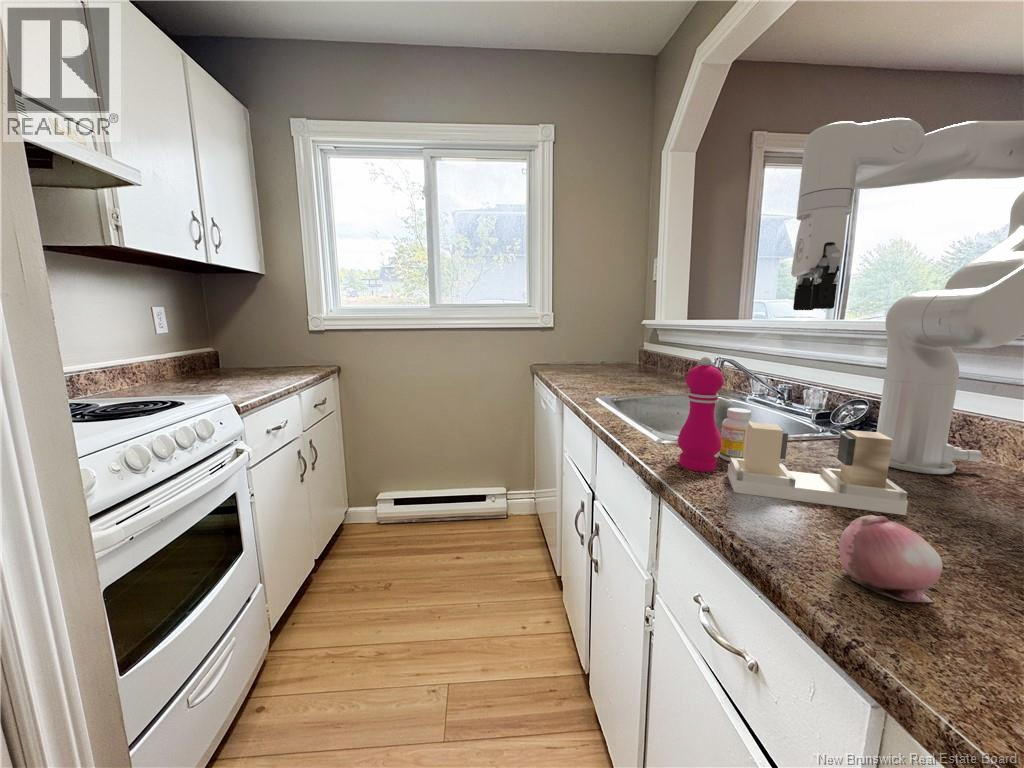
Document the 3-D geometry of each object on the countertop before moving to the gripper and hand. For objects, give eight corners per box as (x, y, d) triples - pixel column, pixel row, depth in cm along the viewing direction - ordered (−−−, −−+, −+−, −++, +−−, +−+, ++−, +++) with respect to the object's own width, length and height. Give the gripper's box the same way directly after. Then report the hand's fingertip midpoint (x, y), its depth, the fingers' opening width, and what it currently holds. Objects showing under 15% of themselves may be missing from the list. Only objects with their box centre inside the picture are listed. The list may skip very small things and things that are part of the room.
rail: (879, 493, 64) (888, 430, 62) (905, 515, 56) (917, 445, 55) (727, 475, 71) (732, 418, 69) (734, 492, 64) (740, 429, 62)
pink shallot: (830, 566, 46) (846, 504, 46) (925, 602, 41) (942, 533, 42) (833, 579, 40) (851, 507, 40) (945, 623, 35) (965, 541, 35)
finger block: (871, 483, 62) (879, 432, 61) (884, 494, 59) (892, 439, 57) (833, 479, 64) (840, 429, 63) (843, 488, 60) (850, 436, 59)
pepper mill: (724, 474, 71) (735, 359, 68) (680, 471, 72) (688, 358, 69) (713, 460, 78) (722, 355, 75) (673, 458, 79) (680, 354, 76)
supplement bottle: (731, 464, 76) (736, 413, 75) (712, 454, 82) (717, 407, 80) (757, 462, 77) (762, 412, 76) (737, 453, 82) (741, 406, 81)
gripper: (784, 220, 79) (775, 310, 82) (814, 194, 63) (801, 308, 66) (831, 217, 77) (820, 310, 79) (875, 189, 60) (859, 308, 63)
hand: (811, 309), depth 72 cm, fingers open, 9 cm apart
